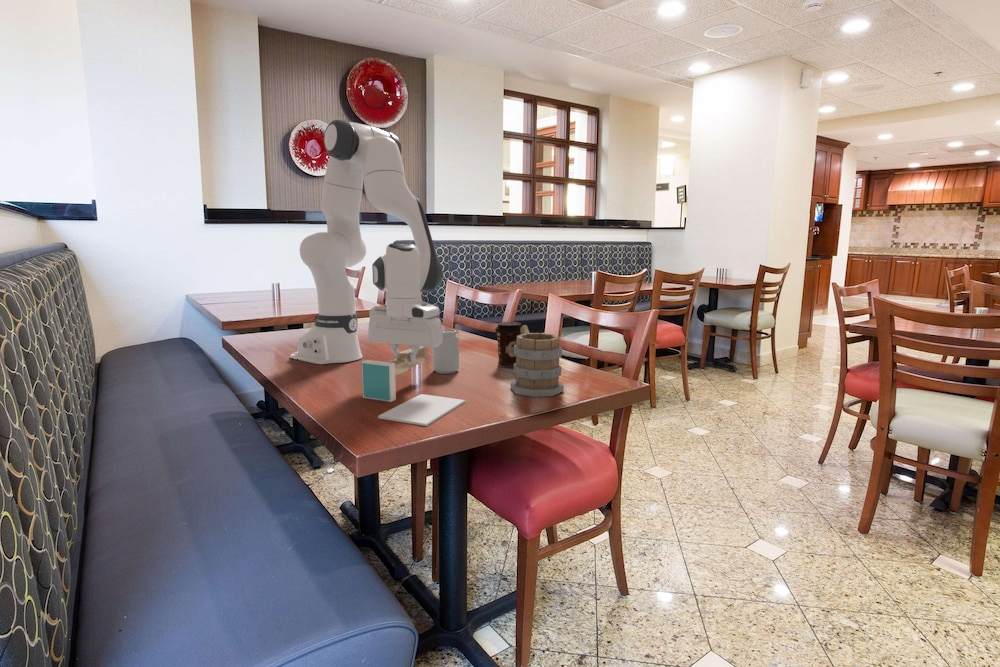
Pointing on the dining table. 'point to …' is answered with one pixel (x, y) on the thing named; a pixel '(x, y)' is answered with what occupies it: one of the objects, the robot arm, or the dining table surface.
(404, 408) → the mat
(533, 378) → the tankard
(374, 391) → the tile
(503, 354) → the coffee cup
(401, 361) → the tan stepped bar
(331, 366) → the dining table surface
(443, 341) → the can
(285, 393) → the dining table surface
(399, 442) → the dining table surface
